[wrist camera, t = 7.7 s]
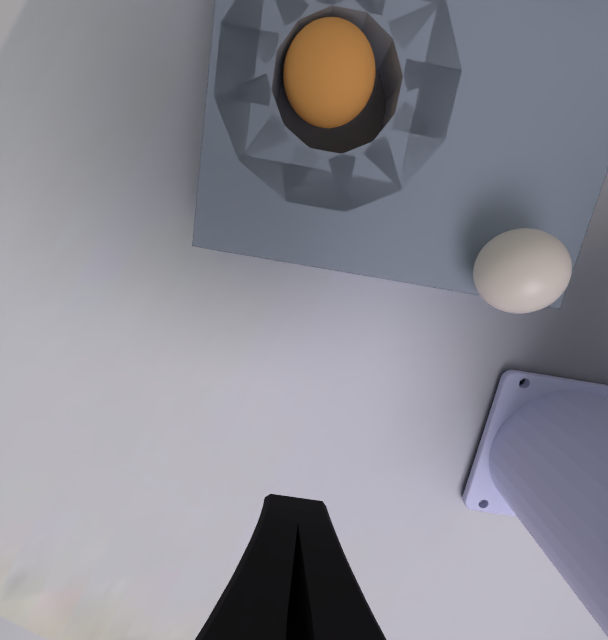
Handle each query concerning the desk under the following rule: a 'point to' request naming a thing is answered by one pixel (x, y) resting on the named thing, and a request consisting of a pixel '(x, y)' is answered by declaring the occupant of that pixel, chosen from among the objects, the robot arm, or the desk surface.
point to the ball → (329, 72)
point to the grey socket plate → (410, 137)
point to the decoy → (522, 270)
